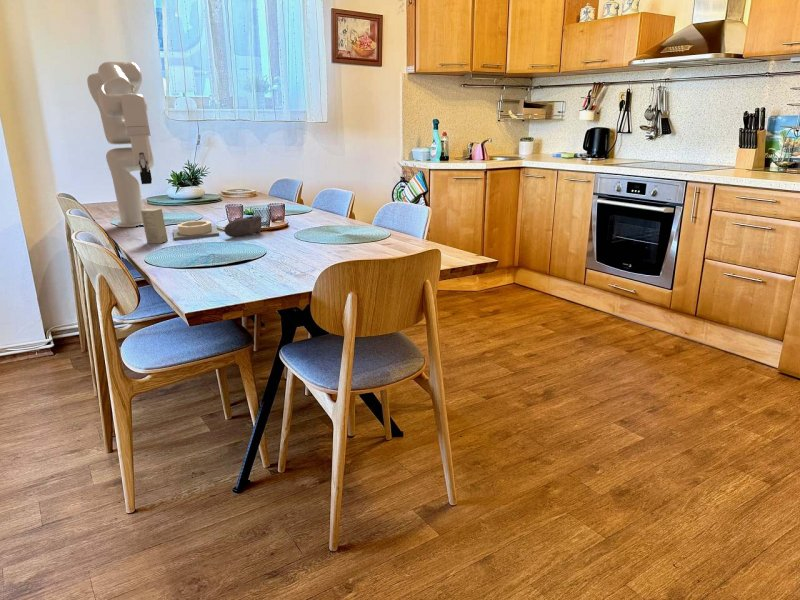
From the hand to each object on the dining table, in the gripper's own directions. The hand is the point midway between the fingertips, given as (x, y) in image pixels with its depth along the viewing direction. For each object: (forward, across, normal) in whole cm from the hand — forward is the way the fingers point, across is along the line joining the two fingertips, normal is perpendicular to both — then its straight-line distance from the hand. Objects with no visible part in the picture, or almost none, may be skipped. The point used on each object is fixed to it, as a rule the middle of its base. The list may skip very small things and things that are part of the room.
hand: (147, 182), depth 199 cm
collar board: (+22, -9, +14) cm, 27 cm away
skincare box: (+22, -1, 0) cm, 22 cm away
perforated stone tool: (+22, +4, +31) cm, 38 cm away
